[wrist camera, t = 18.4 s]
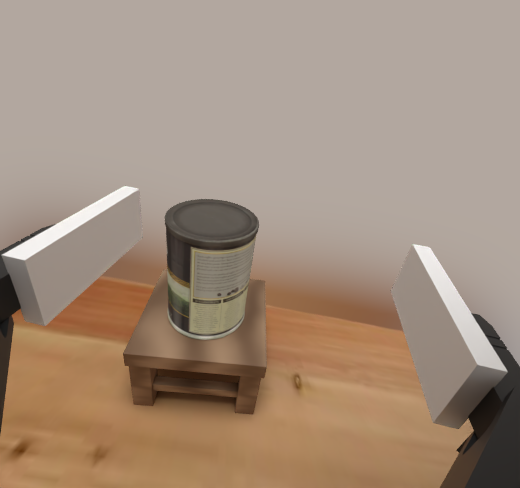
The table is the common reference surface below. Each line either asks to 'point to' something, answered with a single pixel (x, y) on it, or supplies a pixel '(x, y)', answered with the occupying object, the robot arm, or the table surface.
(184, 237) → the coffee can
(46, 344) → the table surface
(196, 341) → the stool
